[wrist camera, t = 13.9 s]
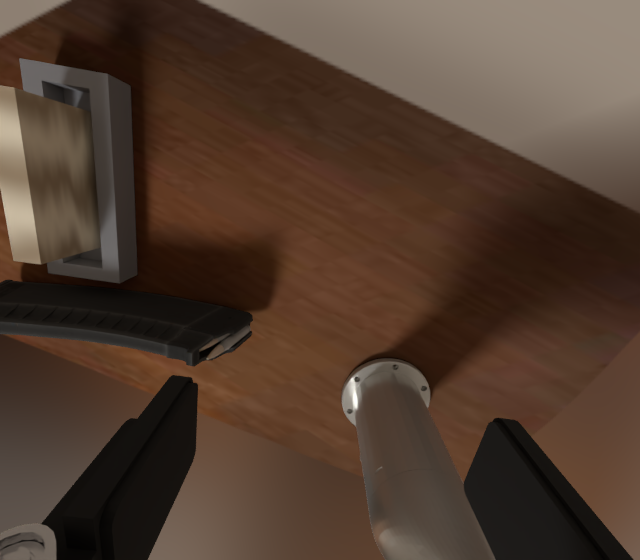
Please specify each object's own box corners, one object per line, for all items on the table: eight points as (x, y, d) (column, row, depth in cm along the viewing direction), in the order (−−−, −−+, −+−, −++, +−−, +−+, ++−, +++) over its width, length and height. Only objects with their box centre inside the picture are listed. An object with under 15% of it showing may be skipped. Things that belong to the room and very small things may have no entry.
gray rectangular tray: (137, 274, 37) (119, 283, 34) (72, 265, 37) (47, 273, 34) (130, 85, 31) (107, 73, 27) (52, 72, 31) (18, 57, 27)
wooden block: (109, 245, 35) (41, 264, 27) (86, 241, 35) (11, 260, 26) (99, 114, 31) (14, 87, 22) (73, 110, 31) (-22, 81, 22)
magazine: (-89, 329, 30) (152, 425, 23) (-99, 300, 29) (149, 390, 22) (84, 283, 46) (258, 331, 38) (82, 263, 45) (260, 309, 37)
